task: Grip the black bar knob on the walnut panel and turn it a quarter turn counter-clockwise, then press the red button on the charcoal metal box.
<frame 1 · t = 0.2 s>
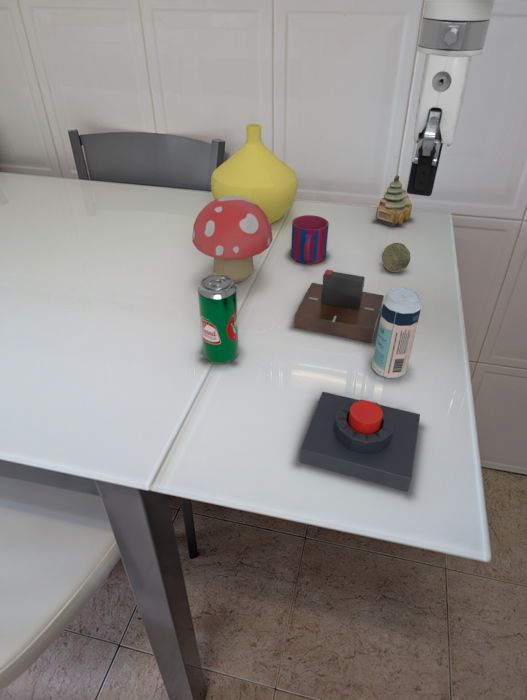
hand: (422, 181, 69), 21 cm above the table, tool pointing down, fingers open, 9 cm apart
soda can: (221, 355, 71), on the table
decorative mushroom: (234, 282, 88), on the table
ornament: (392, 221, 109), on the table
vase: (254, 218, 109), on the table
knob panel: (339, 317, 79), on the table
cup: (306, 260, 94), on the table
button: (365, 417, 55), point 4 cm above the table, slide at 0.1 cm
lime: (392, 269, 92), on the table
dial: (342, 289, 76), point 5 cm above the table, hinge at 0.0°
beer can: (388, 370, 69), on the table
button box: (360, 443, 58), on the table
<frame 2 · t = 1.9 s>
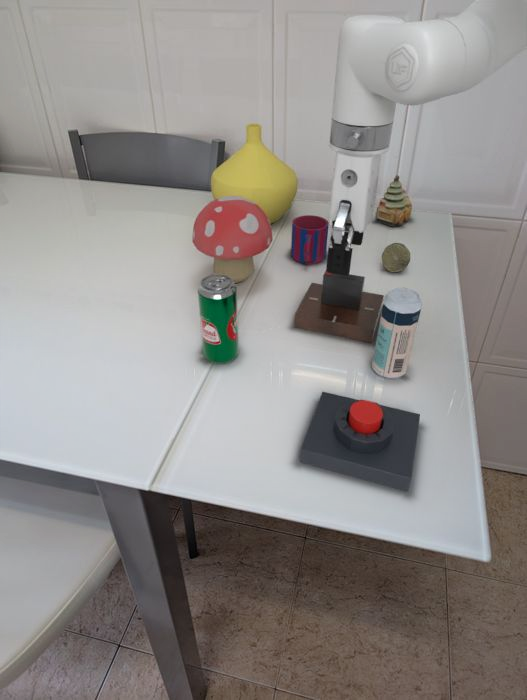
hand: (344, 257, 73), 11 cm above the table, tool pointing down, fingers open, 9 cm apart
nothing on the table moved.
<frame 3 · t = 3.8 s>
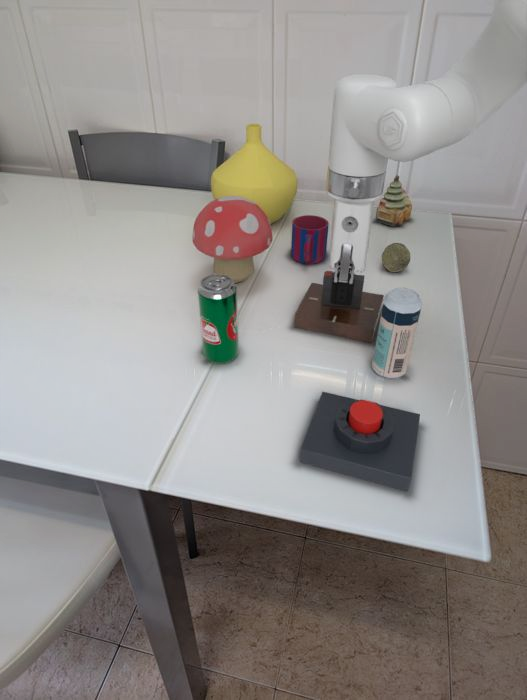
hand: (341, 299, 77), 3 cm above the table, tool pointing down, fingers closed, pressing on dial
dial: (342, 289, 76), point 5 cm above the table, hinge at 8.0°, touching gripper
everything else where it was.
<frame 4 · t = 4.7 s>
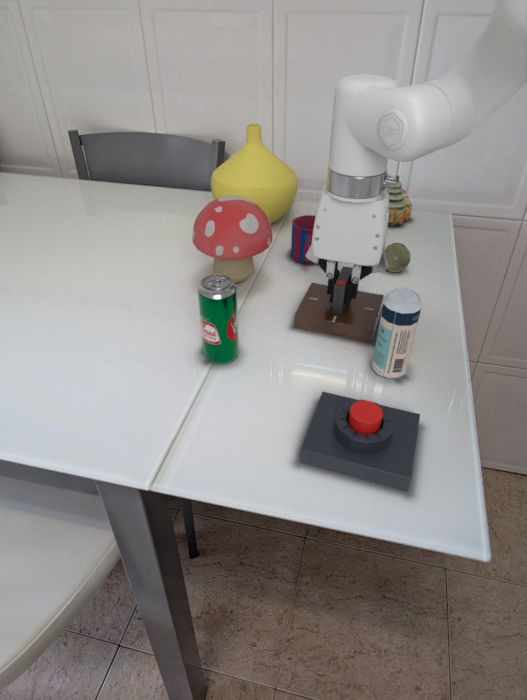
hand: (341, 298, 77), 3 cm above the table, tool pointing down, fingers closed on dial
dial: (342, 289, 76), point 5 cm above the table, hinge at 89.9°, touching gripper
everything else where it was.
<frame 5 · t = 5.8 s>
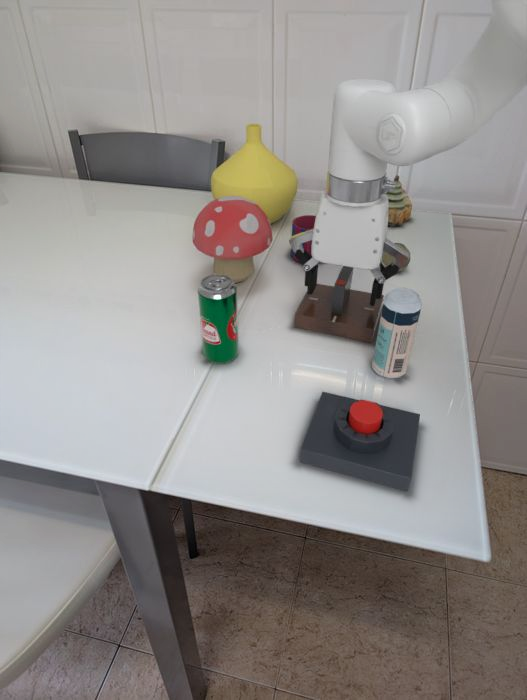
hand: (342, 295, 76), 4 cm above the table, tool pointing down, fingers open, 9 cm apart
dial: (342, 289, 76), point 5 cm above the table, hinge at 89.7°
everything else where it was.
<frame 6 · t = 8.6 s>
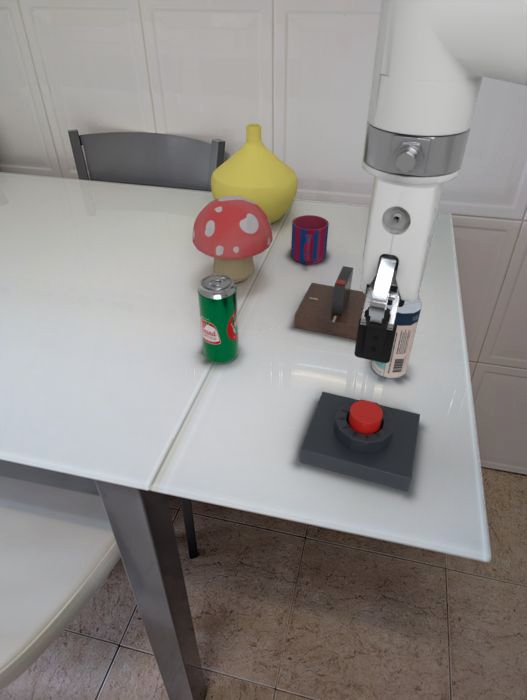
hand: (380, 328, 49), 16 cm above the table, tool pointing down, fingers open, 9 cm apart
nothing on the table moved.
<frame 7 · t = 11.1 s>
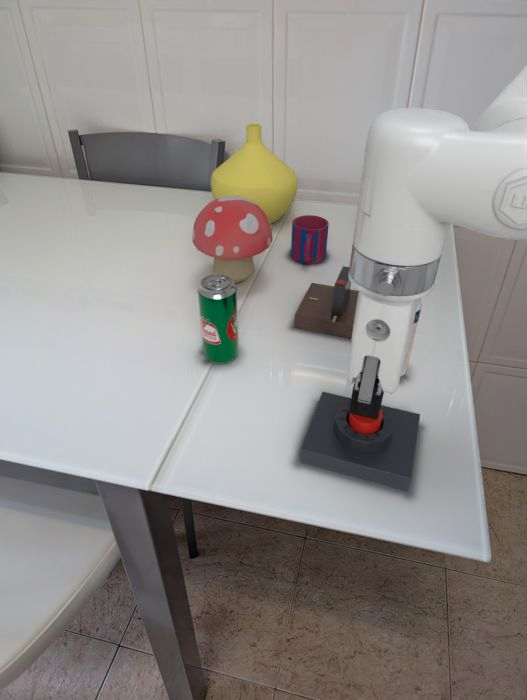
hand: (364, 411, 55), 5 cm above the table, tool pointing down, fingers closed
button: (365, 417, 56), point 4 cm above the table, slide at 0.0 cm, touching gripper
everything else where it was.
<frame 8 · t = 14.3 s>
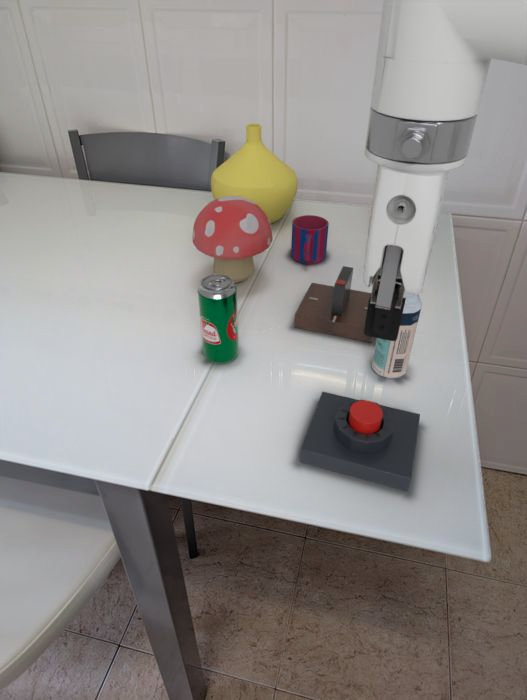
hand: (380, 333, 48), 16 cm above the table, tool pointing down, fingers closed
button: (365, 417, 55), point 4 cm above the table, slide at 0.1 cm
everything else where it was.
at the end: dial at +90° (first picture: +0°); button pushed in 1.1 cm at the most during the clip, back to where it started at the end; button slide at 0.1 cm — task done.
